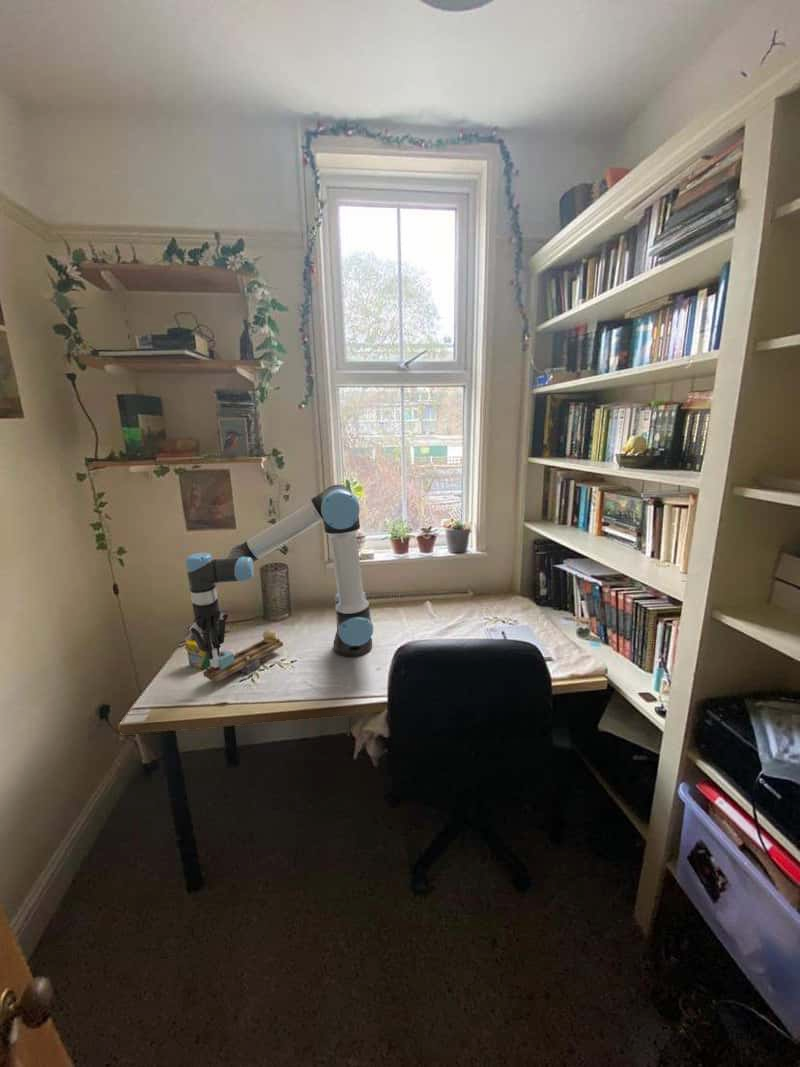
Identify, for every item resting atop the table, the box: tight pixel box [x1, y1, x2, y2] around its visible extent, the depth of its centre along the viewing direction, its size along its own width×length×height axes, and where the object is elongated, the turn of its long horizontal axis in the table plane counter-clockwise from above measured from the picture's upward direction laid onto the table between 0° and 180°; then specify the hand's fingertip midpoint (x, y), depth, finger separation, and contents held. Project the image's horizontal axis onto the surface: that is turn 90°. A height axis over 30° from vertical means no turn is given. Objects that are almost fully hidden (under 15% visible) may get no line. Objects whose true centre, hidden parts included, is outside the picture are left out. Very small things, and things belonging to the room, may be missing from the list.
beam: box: [202, 629, 284, 684], centre depth 151 cm, size 28×9×9 cm, turn 145°
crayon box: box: [185, 633, 211, 671], centre depth 151 cm, size 7×3×12 cm, turn 69°
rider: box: [217, 649, 235, 670], centre depth 143 cm, size 5×5×5 cm
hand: (215, 665), depth 141 cm, fingers closed
